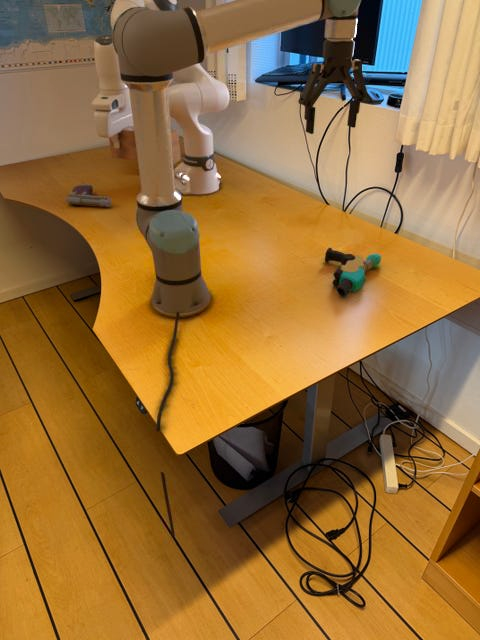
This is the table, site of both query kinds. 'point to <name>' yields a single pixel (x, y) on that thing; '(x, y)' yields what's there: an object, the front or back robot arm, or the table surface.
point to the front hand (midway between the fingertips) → (330, 129)
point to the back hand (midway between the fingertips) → (123, 145)
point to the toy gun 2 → (350, 270)
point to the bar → (129, 145)
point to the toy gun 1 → (87, 197)
